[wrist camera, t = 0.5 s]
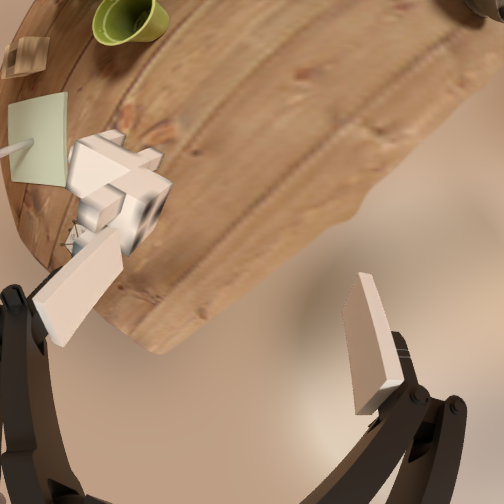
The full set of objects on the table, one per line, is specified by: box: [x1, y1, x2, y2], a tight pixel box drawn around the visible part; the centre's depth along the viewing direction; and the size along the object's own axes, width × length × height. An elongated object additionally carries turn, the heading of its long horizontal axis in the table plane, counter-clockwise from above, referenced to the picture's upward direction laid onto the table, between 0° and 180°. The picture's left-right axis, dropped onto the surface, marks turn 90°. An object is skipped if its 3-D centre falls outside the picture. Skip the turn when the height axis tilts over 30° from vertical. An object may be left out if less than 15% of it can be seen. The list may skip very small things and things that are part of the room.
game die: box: [60, 220, 88, 256], centre depth 44 cm, size 9×8×10 cm
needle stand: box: [0, 92, 68, 187], centre depth 33 cm, size 18×20×12 cm
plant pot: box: [92, 0, 170, 46], centre depth 24 cm, size 9×9×9 cm
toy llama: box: [65, 129, 173, 259], centre depth 31 cm, size 8×18×20 cm, turn 61°
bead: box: [1, 36, 50, 79], centre depth 26 cm, size 7×7×7 cm
